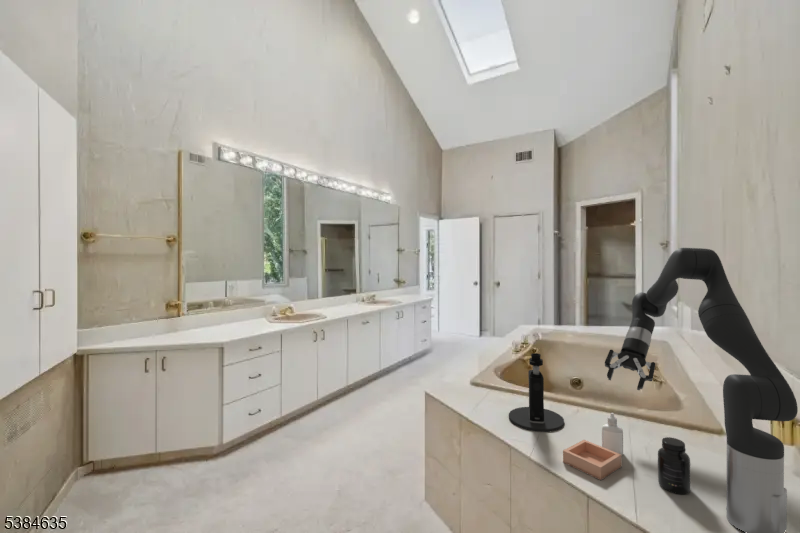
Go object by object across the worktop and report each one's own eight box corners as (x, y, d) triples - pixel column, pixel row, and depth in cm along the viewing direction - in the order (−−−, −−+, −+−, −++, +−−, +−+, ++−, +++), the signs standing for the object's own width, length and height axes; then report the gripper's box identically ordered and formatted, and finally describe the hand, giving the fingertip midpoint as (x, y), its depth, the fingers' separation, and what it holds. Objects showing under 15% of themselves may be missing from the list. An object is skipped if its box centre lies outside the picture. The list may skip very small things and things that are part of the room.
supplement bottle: (659, 476, 103) (659, 432, 103) (691, 485, 99) (691, 439, 98) (656, 488, 98) (656, 442, 97) (689, 499, 93) (689, 450, 93)
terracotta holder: (621, 466, 108) (621, 454, 108) (600, 480, 102) (600, 467, 102) (584, 450, 117) (584, 439, 117) (563, 462, 111) (562, 450, 111)
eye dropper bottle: (618, 458, 112) (618, 418, 112) (599, 450, 117) (599, 412, 117) (625, 453, 115) (625, 414, 115) (606, 446, 120) (606, 408, 119)
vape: (509, 429, 133) (508, 358, 132) (507, 407, 151) (506, 345, 151) (568, 434, 128) (568, 360, 127) (559, 411, 147) (558, 346, 146)
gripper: (613, 331, 135) (599, 371, 129) (661, 344, 126) (649, 388, 120) (614, 341, 140) (600, 380, 134) (660, 354, 131) (648, 397, 125)
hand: (623, 384), depth 127 cm, fingers open, 8 cm apart
